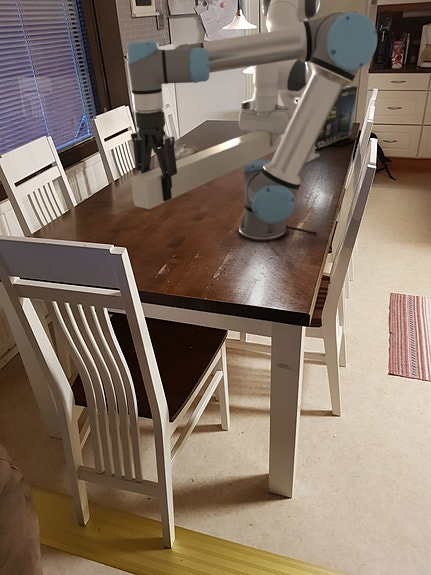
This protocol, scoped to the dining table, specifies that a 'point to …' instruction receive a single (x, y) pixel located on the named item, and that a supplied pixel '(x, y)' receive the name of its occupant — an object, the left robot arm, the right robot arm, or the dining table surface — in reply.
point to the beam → (202, 167)
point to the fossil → (184, 151)
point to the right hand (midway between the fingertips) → (264, 144)
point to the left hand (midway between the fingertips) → (159, 197)
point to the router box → (339, 117)
